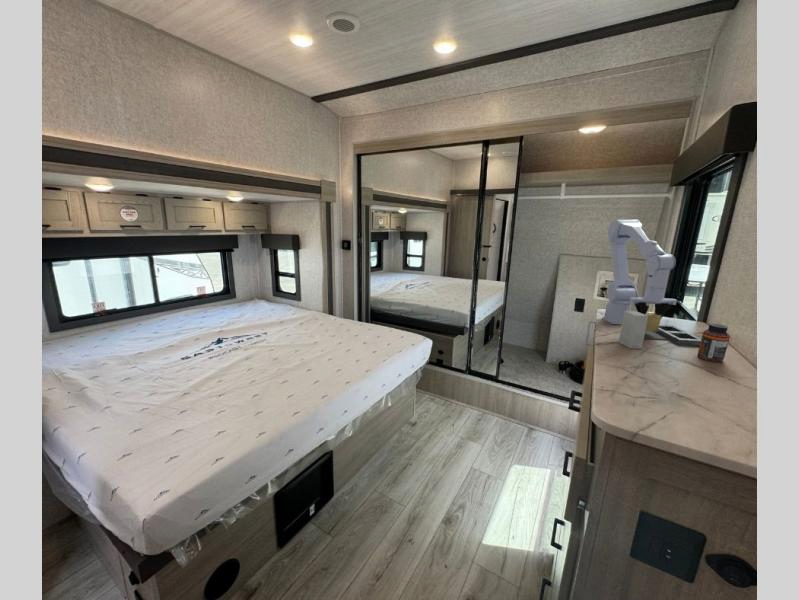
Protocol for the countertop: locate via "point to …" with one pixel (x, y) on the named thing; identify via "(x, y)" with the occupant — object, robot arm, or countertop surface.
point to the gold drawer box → (653, 321)
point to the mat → (653, 336)
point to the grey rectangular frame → (678, 335)
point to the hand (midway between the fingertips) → (648, 322)
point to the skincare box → (633, 329)
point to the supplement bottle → (714, 343)
